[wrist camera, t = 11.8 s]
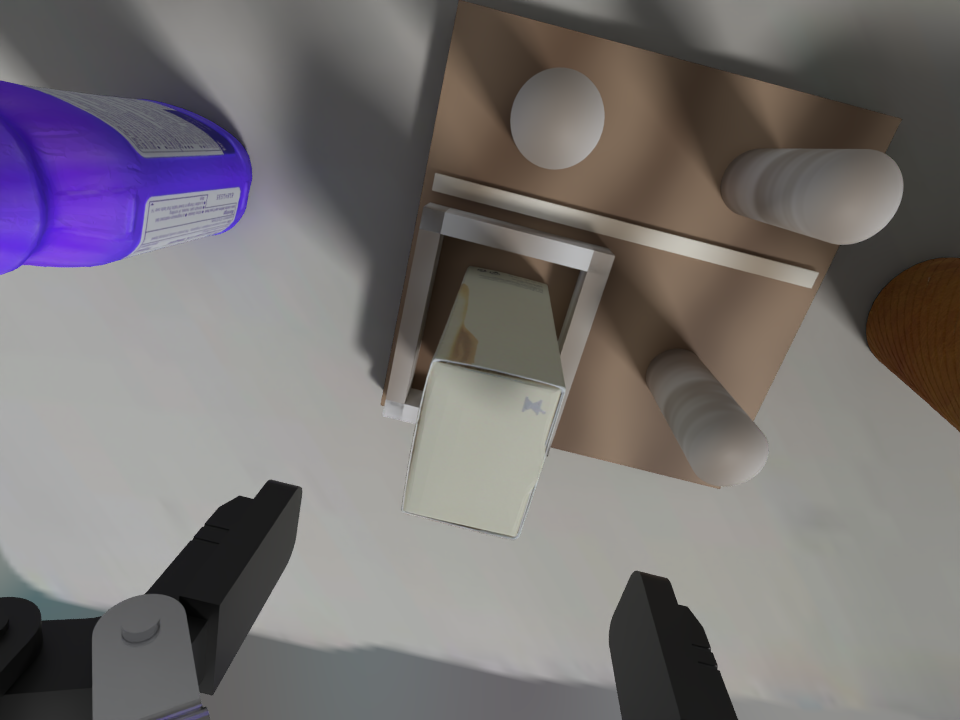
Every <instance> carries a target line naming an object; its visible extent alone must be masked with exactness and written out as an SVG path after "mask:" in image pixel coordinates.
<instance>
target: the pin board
mask: <svg viewBox="0 0 960 720" xmlns="http://www.w3.org/2000/svg"><path fill="white" fill-rule="evenodd" d="M901 120H902V119H901V118H897V117H893V116H889V115H886V114H882V113H878V112H875V111H871V110H867V109H863V108H860V107H856V106H852V105H849V104H845V103H841V102H837V101H834V100H830V99H826V98H823V97H819V96H815V95H811V94H808V93H804V92H800V91H796V90H793V89H789V88H785V87H782V86H778V85H774V84H770V83H767V82H763V81H759V80H756V79H752V78H748V77H744V76H741V75H737V74H733V73H730V72H726V71H722V70H718V69H715V68H711V67H707V66H704V65H700V64H696V63H692V62H689V61H685V60H681V59H677V58H674V57H670V56H666V55H663V54H659V53H655V52H651V51H648V50H644V49H640V48H637V47H633V46H629V45H625V44H622V43H618V42H614V41H611V40H607V39H603V38H599V37H596V36H592V35H588V34H585V33H581V32H577V31H573V30H570V29H566V28H562V27H559V26H555V25H551V24H547V23H544V22H540V21H536V20H532V19H529V18H525V17H521V16H518V15H514V14H510V13H506V12H503V11H499V10H495V9H492V8H488V7H484V6H480V5H477V4H473V3H469V2H466V1H462V0H459V2H458V7H457V12H456V18H455V23H454V28H453V33H452V38H451V43H450V49H449V54H448V59H447V64H446V69H445V74H444V80H443V85H442V90H441V95H440V100H439V105H438V111H437V116H436V121H435V126H434V131H433V136H432V142H431V147H430V152H429V157H428V162H427V167H426V173H425V178H424V183H423V188H422V193H421V198H420V204H419V209H418V214H417V219H416V224H415V229H414V235H413V240H412V245H411V250H410V255H409V260H408V266H407V271H406V276H405V281H404V286H403V291H402V297H401V302H400V307H399V312H398V317H397V323H396V328H395V333H394V338H393V343H392V348H391V354H390V359H389V364H388V369H387V374H386V379H385V385H384V390H383V395H382V400H381V405H382V406H384V410H383V415H382V416H385V417H389V418H393V419H397V420H401V421H405V422H409V423H413V424H416V420H417V415H418V410H419V406H420V401H421V397H422V393H423V389H424V385H425V382H426V378H427V374H428V370H429V367H430V363H431V361H432V358H433V356H434V354H435V352H436V349H437V347H438V344H439V341H440V339H441V336H442V334H443V331H444V329H445V326H446V324H447V321H448V318H449V315H450V313H451V310H452V308H453V305H454V302H455V300H456V297H457V294H458V292H459V289H460V286H461V284H462V281H463V278H464V275H465V273H466V270H467V268H468V267H469V266H474V267H479V268H484V269H489V270H494V271H498V272H502V273H507V274H510V275H514V276H518V277H522V278H526V279H529V280H533V281H537V282H540V283H544V284H546V285H547V286H548V291H549V296H550V302H551V308H552V313H553V319H554V325H555V331H556V336H557V341H558V346H559V353H560V358H561V364H562V370H563V375H564V381H565V386H566V392H565V396H564V399H563V402H562V405H561V408H560V412H559V415H558V418H557V421H556V424H555V428H554V431H553V434H552V437H551V441H550V444H549V447H548V450H547V454H546V456H548V453H549V450H550V447H552V448H556V449H560V450H564V451H568V452H572V453H576V454H580V455H584V456H588V457H592V458H596V459H600V460H604V461H608V462H612V463H616V464H620V465H625V466H629V467H633V468H637V469H641V470H645V471H649V472H653V473H657V474H661V475H665V476H669V477H673V478H677V479H681V480H685V481H689V482H693V483H697V484H701V485H705V486H709V487H713V488H717V489H720V488H721V486H722V487H728V486H735V485H739V484H742V483H744V482H746V481H748V480H750V479H752V478H753V477H754V476H756V475H757V474H758V473H759V472H760V471H761V469H762V468H763V467H764V465H765V463H766V461H767V459H768V455H769V445H768V441H767V438H766V437H765V435H764V434H763V432H762V431H761V430H760V429H759V428H758V426H757V425H756V424H755V423H754V422H753V421H754V419H755V417H756V415H757V413H758V411H759V409H760V407H761V404H762V402H763V400H764V398H765V396H766V394H767V392H768V390H769V388H770V386H771V384H772V382H773V380H774V378H775V376H776V374H777V372H778V370H779V368H780V366H781V364H782V362H783V360H784V358H785V356H786V354H787V352H788V350H789V348H790V346H791V344H792V342H793V339H794V337H795V335H796V333H797V331H798V329H799V327H800V325H801V323H802V321H803V319H804V317H805V315H806V313H807V311H808V309H809V307H810V305H811V303H812V301H813V299H814V297H815V295H816V293H817V291H818V289H819V287H820V285H821V283H822V281H823V279H824V276H825V274H826V272H827V270H828V268H829V266H830V264H831V262H832V260H833V258H834V256H835V254H836V252H837V250H838V248H839V246H840V245H847V244H854V243H858V242H861V241H863V240H866V239H868V238H870V237H872V236H873V235H875V234H876V233H878V232H879V231H880V230H881V229H883V228H884V227H885V226H886V225H887V224H888V223H889V221H890V220H891V219H892V217H893V216H894V214H895V213H896V211H897V209H898V207H899V205H900V202H901V199H902V194H903V178H902V174H901V171H900V169H899V167H898V165H897V164H896V162H895V161H894V160H893V159H892V158H891V157H889V156H888V155H886V154H885V153H886V151H887V148H888V146H889V144H890V142H891V140H892V138H893V136H894V134H895V132H896V130H897V128H898V126H899V124H900V122H901Z"/></svg>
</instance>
